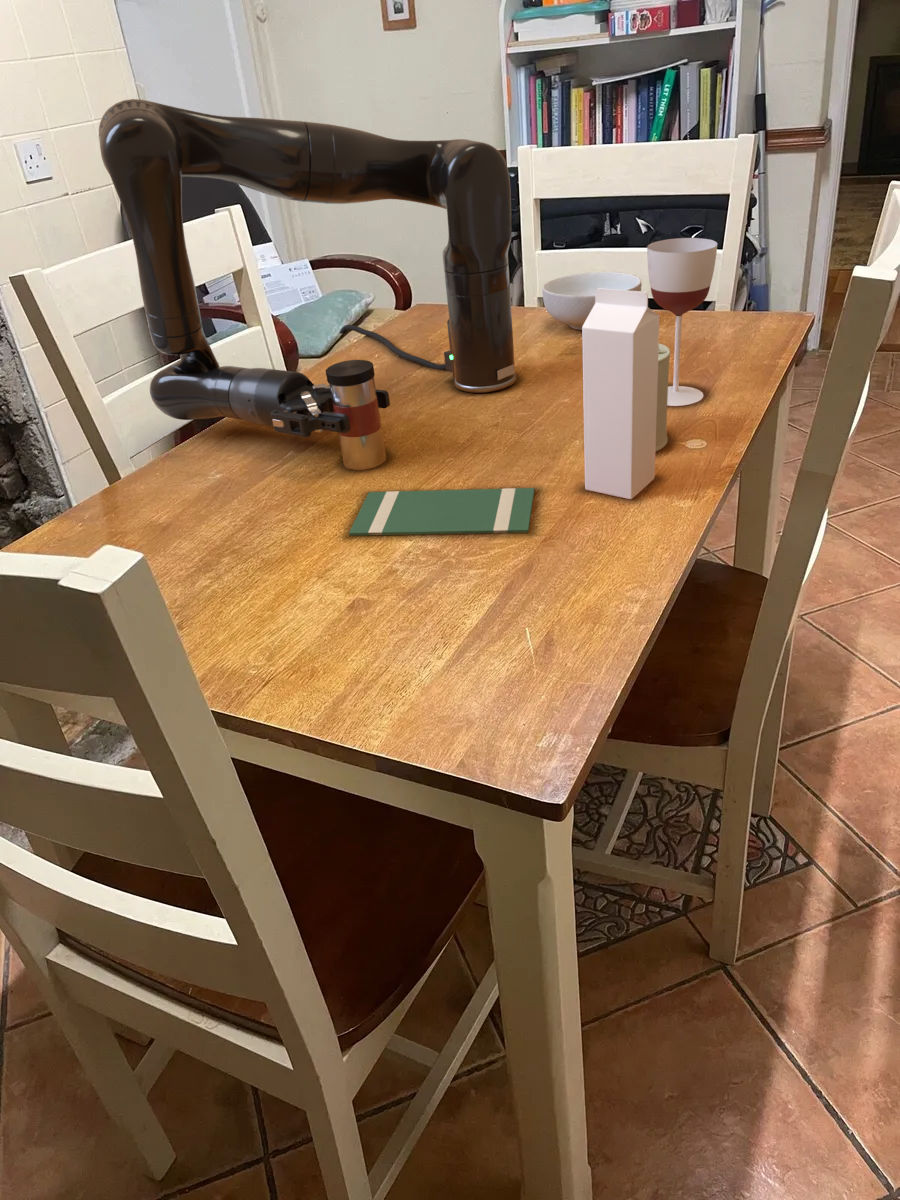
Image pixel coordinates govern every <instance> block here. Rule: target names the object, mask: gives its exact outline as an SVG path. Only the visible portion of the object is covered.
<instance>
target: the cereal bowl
mask: <svg viewBox="0 0 900 1200" xmlns="http://www.w3.org/2000/svg"><path fill="white" fill-rule="evenodd" d="M598 288H601V289H615V290H628V291H641V292H642V279H641V278H640V277H639V276H637V275H634V274H631V273H626V272H618V271H591V272H582V273H574V274H570V275H564V276H561V277H557V278H554V279H551V280H549V281H547V282H545V283H543V286H542V288H541V291H542V301H543V305H544V308H545V310H546V312H547V313H548V314H549V315H550V316H551V318H553V319H554V320H556V321H558V322H560V323H563V324H566V325H568V326H569V327H570V328H571V329H574V330H578V331H582V327H583V325H584V323H585V321H586V319H587V317H588V315H589V314H590V312H591V310H592V308H593V306H594V305H595V291H596V289H598Z"/></svg>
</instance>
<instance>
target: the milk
mask: <svg viewBox="0 0 900 1200" xmlns="http://www.w3.org/2000/svg"><path fill="white" fill-rule="evenodd" d="M660 318H661V317H660V315H659V314H658V313H656V312H655V311H653V310H652V309H651V308H650V307H649V294H648V292H647V291H642V290H641V291H628V290H615V289H601V288H598V289H596V291H595V305H594V306H593V308H592V310H591V312H590V314H589V315H588V317H587V319H586V321H585V323H584V325H583V327H582V330H581V334H582V335H581V339H582V340H581V341H582V342H581V343H582V391H583V392H582V393H583V394H582V395H583V396H582V397H583V399H582V400H583V441H584V442H583V445H584V446H583V448H584V450H583V451H584V452H583V453H584V489H585V491H590V492H595V493H600V494H604V495H609V496H611V497H612V496H613V497H618V498H622V499H627V500H633V499H634V498H635V497H636V496H637V495H638V494H639V493H640V492H642V491H643V490H644V489H645V488H646V487H647V486H648V485H649V484H650V483H652V481H654V480H655V477H656V452H655V450H656V417H657V384H658V351H659V343H660Z"/></svg>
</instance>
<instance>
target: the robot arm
mask: <svg viewBox="0 0 900 1200" xmlns="http://www.w3.org/2000/svg"><path fill="white" fill-rule="evenodd" d="M98 141H99V150H100V156H101V160H102V163H103V166H104V168H105V169H106V171H107V173H108V175H109V177H110V180H111V182H112V184H113V186H114V189H115V192H116V194H117V197H118V199H119V201H120V204H121V207H122V210H123V212H124V215H125V218H126V222H127V224H128V227H129V231H130V235H131V238H132V242H133V247H134V252H135V256H136V263H137V271H138V279H139V285H140V291H141V298H142V301H143V307H144V312H145V317H146V321H147V326H148V330H149V335H150V339H151V341H152V344H153V346H154V347H155V349H156V350H157V351H158V352H160V353H162V354H164V355H169V356H179V357H180V359H178V360H177V361H174V362H173V363H171V364H170V365H168V366H167V367H165V368H163V369H161V370H160V371H158V372H157V373H156V374H155V375H153V376H152V379H151V381H150V384H149V396H150V399H151V401H152V402H153V404H154V406H155V407H156V408H157V409H158V410H159V411H160V412H161V413H162V414H164V415H166V416H168V417H170V418H171V419H172V418H173V419H177V420H181V421H192V420H193V421H195V420H207V419H213V418H214V419H215V418H220V417H221V418H223V417H225V418H228V419H229V418H230V419H234V420H235V419H236V420H241V421H246V422H249V423H252V424H255V425H261V426H266V427H273V431H274V432H276V433H280V434H285V435H291V436H296V437H299V438H309V437H311V436H312V432H315V433H323V432H324V431H326V432H333V433H338V432H339V433H347V432H349V431H350V429H351V428H350V423H349V418H348V416H347V415H345V414H339V413H334V409H333V403H332V397H331V391H330V386H329V384H325V383H319V384H314V383H313V382H312V381H311V380H310V378H309V377H308V376H307V375H305V374H304V373H302V372H298V371H292V370H291V371H290V370H281V369H273V368H265V367H252V368H251V367H243V366H242V367H240V366H234V365H222V366H220V364H219V362H218V360H217V358H216V356H215V354H214V351H213V349H212V347H211V345H210V342H209V341H208V339H207V337H206V334H205V332H204V329H203V322H202V316H201V311H200V304H199V300H198V295H197V288H196V285H195V281H194V280H195V279H194V276H193V272H192V268H191V267H192V266H191V264H190V259H189V254H188V249H187V245H186V239H185V230H184V218H183V177H184V178H185V177H186V178H207V179H208V178H209V179H216V180H223V181H226V182H230V183H232V184H235V185H240V186H242V187H246V188H248V189H251V190H254V191H256V192H260V193H262V194H265V195H268V196H272V197H275V198H279V199H284V200H287V201H293V202H301V203H302V202H303V203H315V204H328V205H329V204H330V205H345V204H359V203H368V202H374V201H382V200H399V201H406V202H413V203H417V204H418V203H419V204H423V205H429V206H433V207H438V208H441V209H444V210H446V215H447V230H448V240H447V243H446V246H445V247H444V248H443V249H442V263H443V272H444V282H445V291H446V301H447V311H448V318H447V321H446V325H447V337H448V345H449V350H446V351H443V355H444V363H442V364H438V363H435V362H431V361H429V360H427V359H425V358H422V357H419V356H416V355H413V354H410V353H408V352H406V351H404V350H402V349H400V348H398V347H397V346H395V345H394V344H393V343H392V342H391V341H389V339H387V338H386V337H384V336H382V335H381V334H378V333H376V332H374V331H371V330H368V329H365V328H362V327H360V326H357V325H355V324H345V325H344V326H342V327H341V328H340V330H339V334H341V335H343V334H346V332H347V331H353V332H356V333H358V334H360V335H363V336H368V337H370V338H373V339H375V340H376V341H378V342H381V343H382V344H383V345H384V346H385V347H387V349H389V350H390V351H391V352H392V353H393V354H395V355H397V356H399V357H401V358H402V359H405V360H407V361H410V362H413V363H416V364H419V365H421V366H423V367H426V368H429V369H434V370H438V371H439V370H440V371H448V372H451V373H452V381H453V382H454V387H455V388H457V389H458V390H459V391H462V392H467V393H476V394H479V393H480V394H481V393H492V392H497V391H501V390H504V389H507V388H509V387H511V386H513V384H515V382H516V381H517V375H516V374H517V373H516V369H515V367H516V366H515V350H514V334H513V333H514V331H513V315H512V301H511V299H512V298H511V284H510V269H509V250H510V246H511V241H512V197H511V196H512V194H511V193H512V192H511V178H510V173H509V168H508V164H507V162H506V160H505V158H504V156H503V155H502V153H501V152H500V151H499V149H497V148H496V147H495V146H493V145H491V144H489V143H486V142H483V141H477V140H472V139H466V138H459V139H456V138H455V139H442V140H441V139H439V140H409V139H408V140H405V139H395V138H390V137H385V136H383V135H380V134H379V135H378V134H375V133H372V132H368V131H364V130H360V129H356V128H351V127H347V126H342V125H337V124H331V123H330V124H329V123H321V122H313V121H303V120H288V119H276V118H266V117H265V118H264V117H263V118H262V117H246V116H223V115H215V114H210V113H204V112H199V111H194V110H189V109H187V108H185V109H184V108H181V107H176V106H172V105H167V104H164V103H159V102H155V101H151V100H145V99H138V98H130V99H124V100H121V101H118V102H116V103H114V104H113V105H111V106H110V107H109V108H108V109H107V110H106V111H105V112H104V114H103V115H102V117H101V119H100V121H99V126H98ZM376 394H377V399H378V406H379V409H388V408H389V407H390V405H391V402H390V401H391V400H390V393H389V391H387V390H385V389H378V388H376Z"/></svg>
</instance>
